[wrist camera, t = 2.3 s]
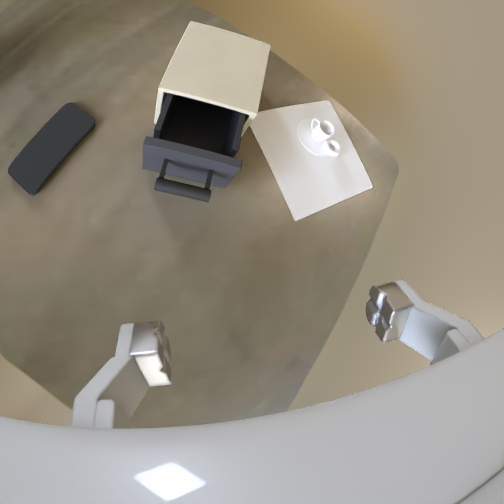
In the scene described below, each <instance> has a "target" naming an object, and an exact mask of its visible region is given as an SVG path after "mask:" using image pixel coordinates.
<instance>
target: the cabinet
mask: <svg viewBox="0 0 504 504" xmlns="http://www.w3.org/2000/svg"><path fill="white" fill-rule="evenodd" d="M270 46H271V45H270V44H267V43H264V42H261V41H259V40H256V39H253V38H250V37H247V36H244V35H240V34H237V33H234V32H231V31H227V30H224V29H220V28H217V27H213V26H209V25H205V24H201V23H197V22H193V21H191V22H190V23H189V25H188V27H187V29H186V31H185V33H184V35H183V37H182V39H181V41H180V43H179V45H178V47H177V49H176V51H175V53H174V55H173V57H172V59H171V61H170V63H169V65H168V68H167V70H166V72H165V74H164V76H163V79H162V81H161V83H160V86H159V89H158V96H157V104H156V111H155V120H154V124H156V123H157V120H158V117H159V115H160V112H161V109H162V107H163V104H164V101H165V99H166V96H167V94H168V93H170V94H175V95H179V96H183V97H187V98H191V99H195V100H199V101H203V102H207V103H210V104H214V105H218V106H221V107H225V108H228V109H231V110H235V111H238V112H241V113H244V114H246V116H245V121H244V126H243V130H242V135H243V134H244V133H245V131H246V130H247V128H248V127H249V125H250V124H251V123H252V121H253V120H254V118H255V117H256V116H257V114H258V109H259V103H260V98H261V93H262V88H263V82H264V77H265V72H266V67H267V62H268V57H269V52H270ZM242 135H241V137H242Z"/></svg>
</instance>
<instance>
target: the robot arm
mask: <svg viewBox="0 0 504 504" xmlns="http://www.w3.org/2000/svg"><path fill="white" fill-rule="evenodd" d="M369 295H370V297H371V299H370V300H369V301H368V302H367V305H366V316H367V319H368V321H369V323H370V324H371V325H373V326H375V327H376V331H375V332H376V334H377V335H378V337H379V338H380V340H381V342H382V343H385V342H389V341H392V340H396V339H399V338H400V340H401V341H402V342H404V343H406V344H407V345H408V346H410V347H411V348H413V349H414V350H416V351H417V352H419V353H420V354H422V355H423V356H425V357H427V358H428V359H430V360H431V363H430V365H429V366H427V367H425V368H423V369H420V370H418V371H415V372H413V373H410V374H408V375H405V376H403V377H400V378H398V379H395V380H392V381H390V382H387V383H384V384H381V385H378V386H375V387H373V388H370V389H367V390H364V391H361V392H357V393H354V394H351V395H348V396H344V397H341V398H338V399H334V400H330V401H327V402H323V403H319V404H315V405H311V406H307V407H303V408H299V409H295V410H290V411H285V412H281V413H276V414H271V415H265V416H260V417H254V418H248V419H242V420H235V421H228V422H221V423H213V424H204V425H194V426H182V427H166V428H139V429H136V428H135V427H134V426H133V425H132V424H131V422H130V421H129V420H130V418H131V417H132V415H133V413H134V412H135V410H136V408H137V407H138V405H139V404H140V402H141V400H142V399H143V397H144V396H145V394H146V392H147V391H148V389H149V386H159V385H169V384H171V369H170V366H169V362H170V361H171V351H170V345H169V341H168V338H167V336H165V335H164V326H163V324H162V322H161V321H154V322H141V323H132V324H122V326H121V328H120V333H119V338H118V344H117V349H116V355H115V357H113V358H111V359H110V360H109V361H108V362H107V363H106V364H105V365H104V366H103V367H102V369H101V370H100V371H99V372H98V373H97V374H96V375H95V376H94V377H93V378H92V379H91V381H90V382H89V383H88V384H87V385H86V386H85V387H84V388H83V389H82V391H81V392H80V393H79V394H78V395H77V396H76V397H75V400H74V405H73V410H72V416H71V422H70V426H62V425H53V424H44V423H37V422H30V421H24V420H18V419H12V418H8V417H3V416H0V504H504V328H503V329H501V330H499V331H498V332H496V333H494V334H492V335H490V336H489V337H487V338H485V339H484V338H483V336H482V335H481V334H480V333H479V332H478V330H477V329H476V328H475V327H474V326H473V324H472V323H471V322H470V321H468V320H466V319H464V318H462V317H460V316H458V315H455V314H453V313H451V312H449V311H447V310H444V309H442V308H440V307H438V306H435V305H433V304H431V303H429V302H423V300H422V299H421V298H420V297H419V296H418V295H417V293H416V292H415V291H414V290H413V289H412V288H411V287H410V286H409V284H408V283H407V282H406V281H405V280H403V279H402V280H398V281H394V282H390V283H385V284H381V285H377V286H372V288H371V289H370V293H369Z"/></svg>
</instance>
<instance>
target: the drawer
mask: <svg viewBox="0 0 504 504" xmlns="http://www.w3.org/2000/svg"><path fill="white" fill-rule="evenodd" d="M245 116H246V114H244V113H241V112H238V111H235V110H231V109H228V108H225V107H221V106H218V105H214V104H210V103H207V102H203V101H199V100H195V99H191V98H187V97H183V96H179V95H175V94H170V93H168V94H167V96H166V99H165V101H164V104H163V107H162V109H161V112H160V115H159V117H158V120H157V123H156V126H155V129H154V137H148V136H146V137H145V140H144V143H143V169H147V170H152V171H156V172H160V175H159V178H158V177H157V180H156V183H155V188H154V190H157V191H162V192H166V193H171V194H175V195H179V196H184V197H188V198H192V199H196V200H201V201H205V202H208V201H209V199H210V195H211V190H209V189H210V184H211V185H215V186H219V187H223V188H225V187H226V186H227V184H228V183H229V182H230V181H231V180H232V178H233V177H234V176H235V175H236V174H237V172H238V171H239V170H240V169H241V165H242V160H240V159H236V158H233V157H234V156H235V154H236V153H237V151H238V150H239V145H240V140H241V135H242V130H243V126H244V121H245ZM165 174H169V175H174V176H178V177H182V178H186V179H191V180H195V181H199V182H203V183H205V188H201V187H197V186H193V185H188V184H184V183H180V182H176V181H171V180H167V179H164V175H165Z"/></svg>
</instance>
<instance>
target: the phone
mask: <svg viewBox="0 0 504 504" xmlns="http://www.w3.org/2000/svg"><path fill="white" fill-rule="evenodd" d="M94 126H95V120H94V118H93V117H92V116H90V115H89V114H87V113H86V112H85V111H83V110H82V109H81V108H79V107H78V106H77V105H75V104H74V103H67V104H66V105H64V106H63V107H62V108H61V109H60V110H59V111H58V112H57V113H56V114H55V115H54V116H53V117H52V118H51V119H50V120H49V121H48V122H47V123H46V124H45V125H44V126H43V127H42V128H41V130H40V131H39V132H38V133H37V134H36V135H35V136H34V137H33V138H32V139H31V141H30V142H29V143H28V144H27V145H26V146H25V147H24V149H23V150H22V151H21V152H20V153H19V155H18V156H17V157H16V158H15V159H14V161H13V162H12V163H11V165H10V166H9V168H8V173H9V175H10V176H11V177H12V178H13V179H14V180H15V181H16V182H17V183H18V184H19V185H20V186H21V187H22V188H23V189H24V190H25V191H26V192H28V193H29V194H31V195H34V194H36V193H37V192H38V191H39V190H40V188H41V187H42V186H43V185H44V183H45V182H46V181H47V180H48V178H49V177H50V176H51V175H52V173H53V172H54V171H55V170H56V169H57V167H58V166H59V165H60V164H61V163H62V162H63V160H64V159H65V158H66V157H67V156H68V155H69V154H70V152H71V151H72V150H73V149H74V148H75V147H76V146H77V145H78V144H79V143H80V142H81V141H82V139H83V138H84V137H85V136H86V135H87V134H88V133H89V132H90V131H91V130H92V129H93V128H94Z"/></svg>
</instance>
